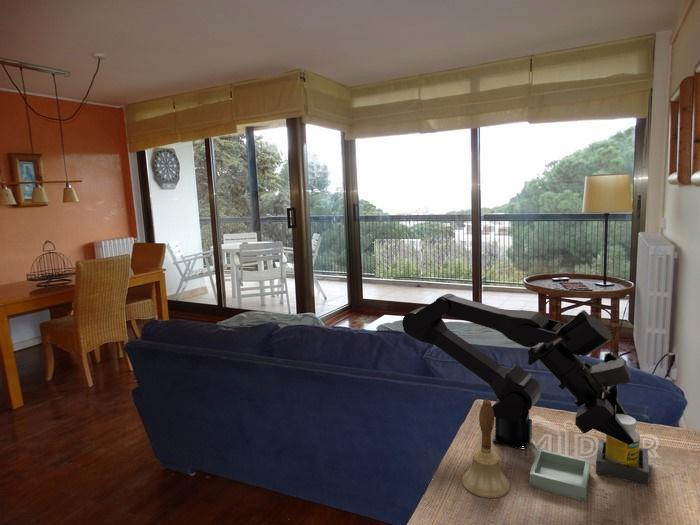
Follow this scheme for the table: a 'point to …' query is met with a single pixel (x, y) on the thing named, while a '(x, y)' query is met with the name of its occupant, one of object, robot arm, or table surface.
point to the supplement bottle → (624, 444)
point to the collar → (623, 466)
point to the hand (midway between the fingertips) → (631, 435)
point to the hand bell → (486, 462)
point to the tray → (560, 474)
